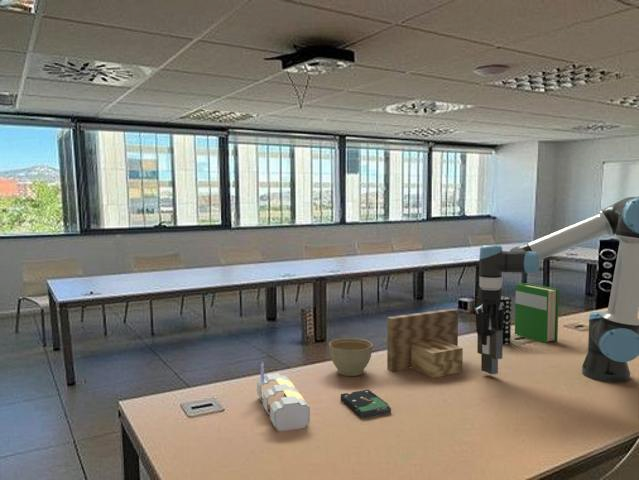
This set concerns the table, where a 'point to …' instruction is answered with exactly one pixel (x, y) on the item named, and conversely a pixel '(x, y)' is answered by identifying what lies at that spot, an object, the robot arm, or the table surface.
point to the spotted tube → (506, 319)
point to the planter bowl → (350, 355)
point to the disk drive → (365, 404)
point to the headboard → (425, 343)
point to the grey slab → (491, 351)
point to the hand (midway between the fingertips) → (489, 352)
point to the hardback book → (536, 312)
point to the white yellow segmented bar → (284, 403)
